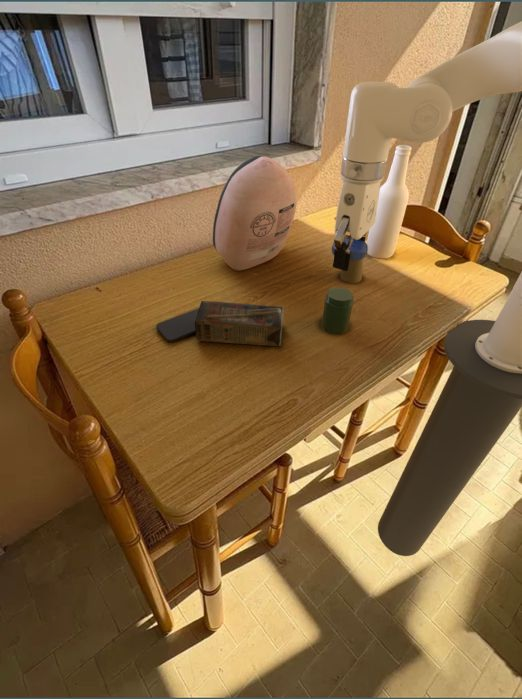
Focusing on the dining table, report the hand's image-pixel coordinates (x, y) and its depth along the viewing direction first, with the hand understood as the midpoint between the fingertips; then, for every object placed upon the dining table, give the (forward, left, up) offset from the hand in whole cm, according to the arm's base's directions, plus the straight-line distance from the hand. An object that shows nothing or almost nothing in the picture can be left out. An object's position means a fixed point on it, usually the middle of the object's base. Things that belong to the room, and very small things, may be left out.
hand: (347, 260), depth 78 cm
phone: (+30, +17, -18) cm, 39 cm away
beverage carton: (+18, +14, -18) cm, 29 cm away
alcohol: (+4, -43, -18) cm, 47 cm away
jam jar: (+1, -1, -18) cm, 18 cm away
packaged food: (+33, -16, -18) cm, 41 cm away
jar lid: (0, 0, +3) cm, 3 cm away
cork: (+6, -24, -18) cm, 30 cm away
